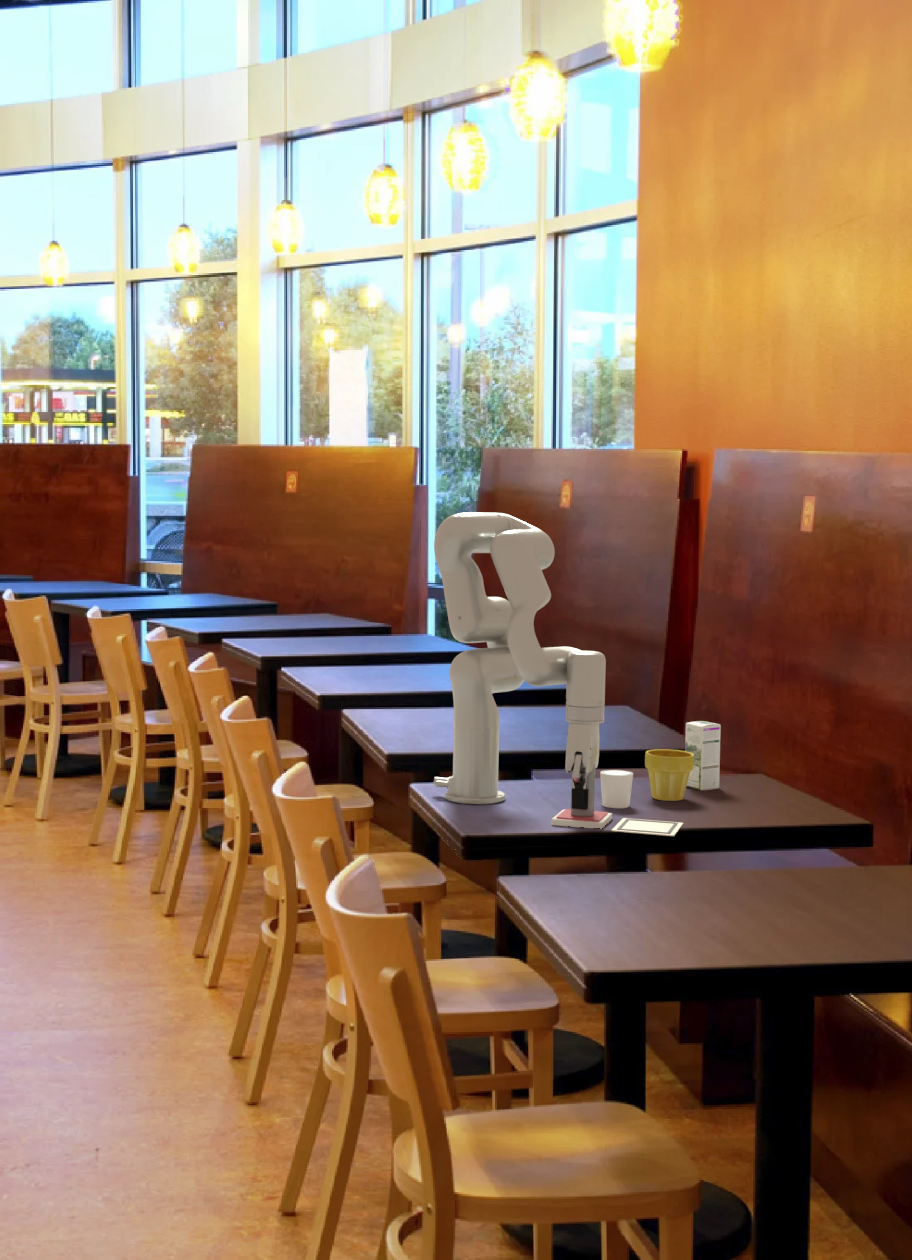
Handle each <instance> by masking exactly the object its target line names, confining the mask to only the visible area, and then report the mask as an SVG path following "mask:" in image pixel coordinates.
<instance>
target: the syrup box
mask: <svg viewBox="0 0 912 1260" xmlns="http://www.w3.org/2000/svg"><path fill="white" fill-rule="evenodd" d="M721 729H722V727H721V724H720V723H715V722H709V721H704V720H696V721H690V722H685V739H684V740H685V746H684V747H685V749H684V751H686V752H690V753H693V754H694V766H693V770H692V771H690V774H689V778H688V782H687V786H686V788H691V789H694V790H698V791H708V790H709V791H711V790H718V789H720V773H721V772H720V768H721V767H720V765H721V764H720V763H721V762H720V760H721Z"/></svg>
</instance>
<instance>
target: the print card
mask: <svg viewBox="0 0 912 1260" xmlns="http://www.w3.org/2000/svg"><path fill="white" fill-rule="evenodd" d="M683 825H684V822H681V821H680V822H677V821H666V820H665V821H664V820H655V819H654V820H652V819H640V818H628V817H622V818H621V820H620V821H619V822H617V823H616V824H615V826H614V827H613V828H612V829H611V830H610V831H611V832H616V833H617V832H618V833H629V834H640V835H642V834H643V835H653V836H655V835H656V836H663V837H665V836H666V837H675V835H676V834H677V833H678V832H679V831H680V829H681V828H682V826H683Z"/></svg>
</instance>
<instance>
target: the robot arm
mask: <svg viewBox="0 0 912 1260" xmlns="http://www.w3.org/2000/svg"><path fill="white" fill-rule="evenodd" d="M433 545H434V547H433V548H434V549H433V550H434V555H435V561H436V564H437V567H438V570H439V574H440V577H441V581H442V582H441V583H442V586H443V593H444V599H445V600H444V601H445V606H446V613H447V618H448V624H449V625H448V626H449V628H450V633H451V635H452V636H453V638H454V639H455V640H456V641H458V642H459V643H464V644H477V643H486V645H487V647H484V648H473V649H467V650H464V651H462V652H460V653H459V654H457V655H456V656H455V657H454V658H453V660H452V661H451V664H450V667H449V679H450V686H451V691H452V699H453V700H452V701H453V747H452V749H453V752H452V754H453V755H452V775H451V776H449V777H442V776H441V777H440V776H434V778H433V785H434V786H435V787H436V788H446V789H447V791H445V793H444V798H445V799H446V800H447V801H449V802H453V803H457V804H464V805H465V804H468V805H489V804H498V803H501V802H503V801H505V800H506V793H505V792H503V791H501V790H499V760H500V759H499V756H500V753H499V752H500V751H499V749H500V745H499V744H500V713H499V709H498V706H497V705H498V704H496V701H495V698H494V696H493V694H495V693H496V694H497V693H506V692H511V691H515V690H517V689H518V688H520V687H521V686H522V685H523V684H524V683H526V684H528V685H529V686H532V687H537V688H538V687H548V686H560V685H566V693H565V722H566V723H568V729H567V736H566V737H567V738H566V748H565V749H566V750H565V765H564V767H565V768H564V770H565V772H566V773H567V774H569V773H572V769H573V781H572V780H571V788H572V804H571V803H570V808H571V807H572V808H573V809H582V810H587V809H588V792H589V789H587V781H588V774H589V773H590V772H592V771H593V767H594V764H595V770H596V769H597V768H598V765H599V759H600V758H599V757H600V724H604V722H605V704H606V703H605V701H606V697H605V696H606V667H607V666H606V665H607V664H606V663H607V659H606V656H605V654H603V653H602V652H600V651H598V650H597V651H595V650H581V649H579V648H576V647H572V646H565V645H564V646H553V647H552V646H548V647H541V645H540V642H539V641H538V638H537V635H536V632H535V625H534V621H535V617H536V614H537V612H538V611H539V610H540V609H542V608H544V607H545V606H546V605H547V604H548V603H550V600H551V598H552V592H551V590H550V587H549V585H548V583H547V580H546V578H545V575H544V573H543V570H545V569H547V568H549V567H550V566H551V564H552V563H553V561H554V558H555V555H556V553H555V552H556V551H555V546H554V543H553V541H552V539H551V537H550V536H549V534H547V533H546V532H544V531H543V530H542V529H540V528H538V527H536V526H534V525H532V524H530V523H527V522H526V521H523V520H521V519H519V518H517V517H515V516H512V515H510V514H508V513H503V512H480V511H479V512H477V511H476V512H475V511H473V512H472V511H470V512H467V511H466V512H458V513H455V514H452V515H449V516H448V517H445V519H444V520H443V521H442V522H441V523H440V524H439V525H438V528H437V530H436V533H435V536H434V542H433ZM472 554H490V556H491V559H492V562H493V565H494V567H495V570H496V573H497V575H498V577H499V580H500V583H501V585H502V587H503V589H504V592H505V595H506V597H507V599H506V598H503V597H501V596H488V595H487V594H486V590H485V584H484V578H483V574H482V573H481V570H480V568H479V565H478V564H477V562H475V560H474V558H472ZM573 764H574V768H572V767H573ZM581 770H585V773H581ZM581 776H584V779H583V777H581ZM583 780H584V781H583Z"/></svg>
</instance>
